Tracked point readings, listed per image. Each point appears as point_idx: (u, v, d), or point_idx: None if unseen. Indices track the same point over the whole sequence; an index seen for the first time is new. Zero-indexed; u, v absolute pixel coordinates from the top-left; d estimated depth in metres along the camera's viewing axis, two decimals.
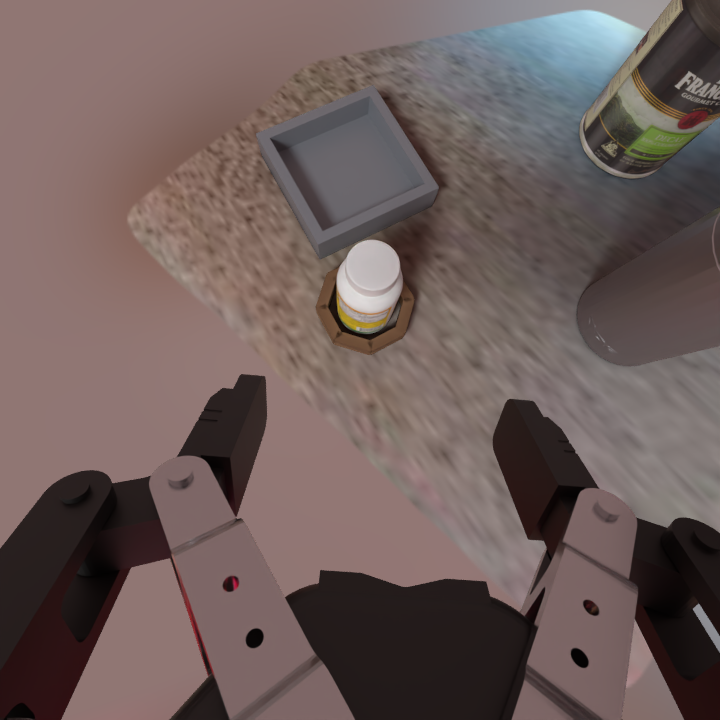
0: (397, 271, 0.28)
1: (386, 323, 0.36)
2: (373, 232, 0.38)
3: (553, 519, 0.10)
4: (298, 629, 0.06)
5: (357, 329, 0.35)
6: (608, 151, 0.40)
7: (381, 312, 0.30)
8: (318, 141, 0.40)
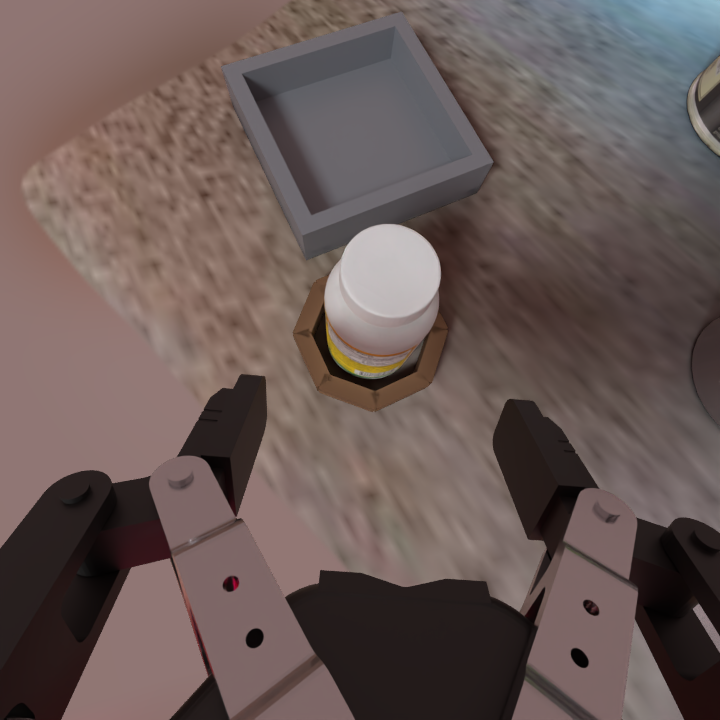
0: (435, 284, 0.15)
1: (402, 364, 0.23)
2: None
3: (553, 519, 0.10)
4: (298, 629, 0.06)
5: (356, 372, 0.22)
6: None
7: (398, 354, 0.18)
8: (315, 89, 0.27)
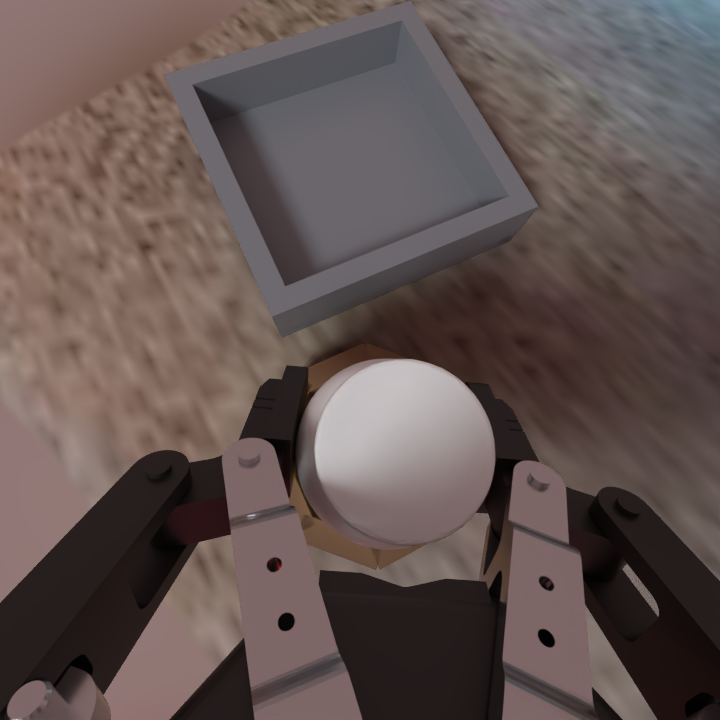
0: (487, 475, 0.08)
1: None
2: (394, 287, 0.19)
3: (495, 491, 0.10)
4: (327, 625, 0.06)
5: None
6: None
7: None
8: (296, 104, 0.21)
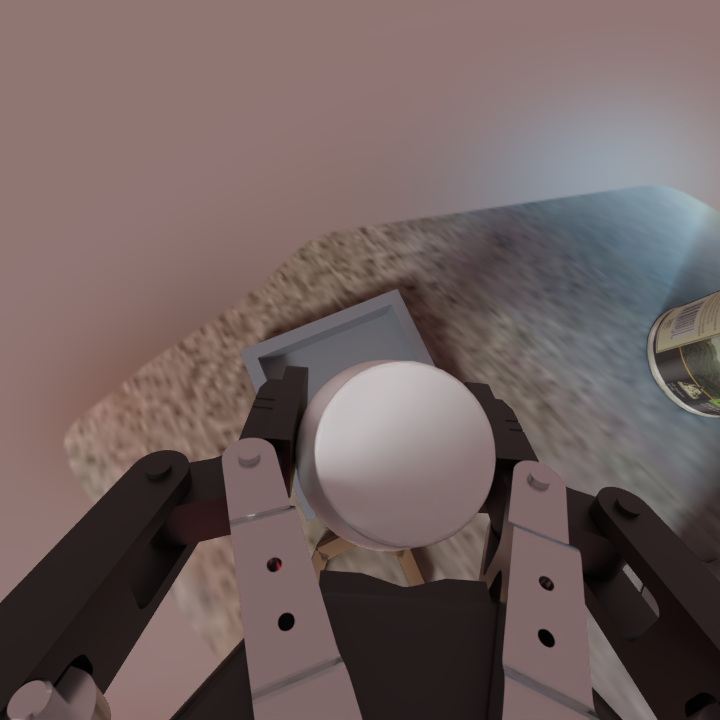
0: (487, 477, 0.08)
1: None
2: None
3: (495, 491, 0.10)
4: (327, 625, 0.06)
5: None
6: (686, 391, 0.31)
7: None
8: (321, 348, 0.31)
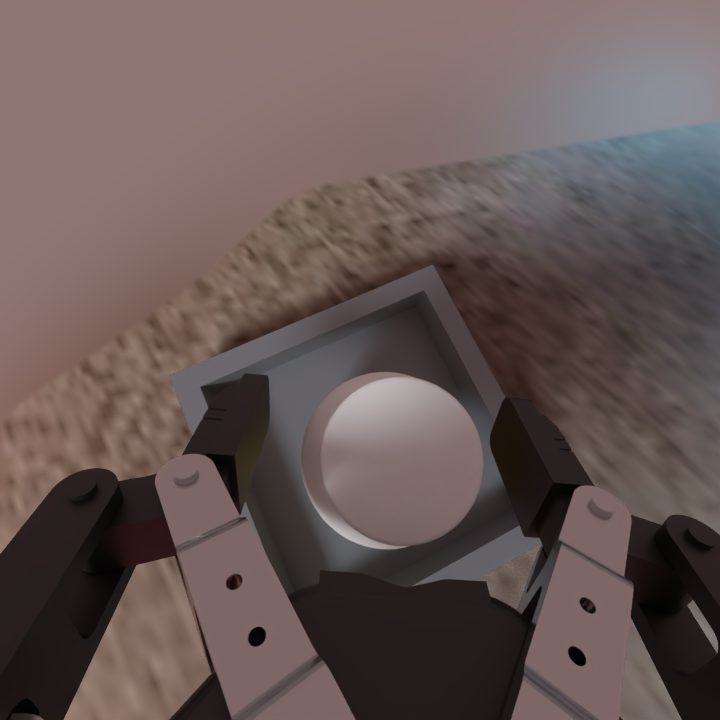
0: (475, 483, 0.09)
1: None
2: None
3: (548, 516, 0.10)
4: (300, 629, 0.06)
5: None
6: None
7: None
8: (310, 364, 0.19)
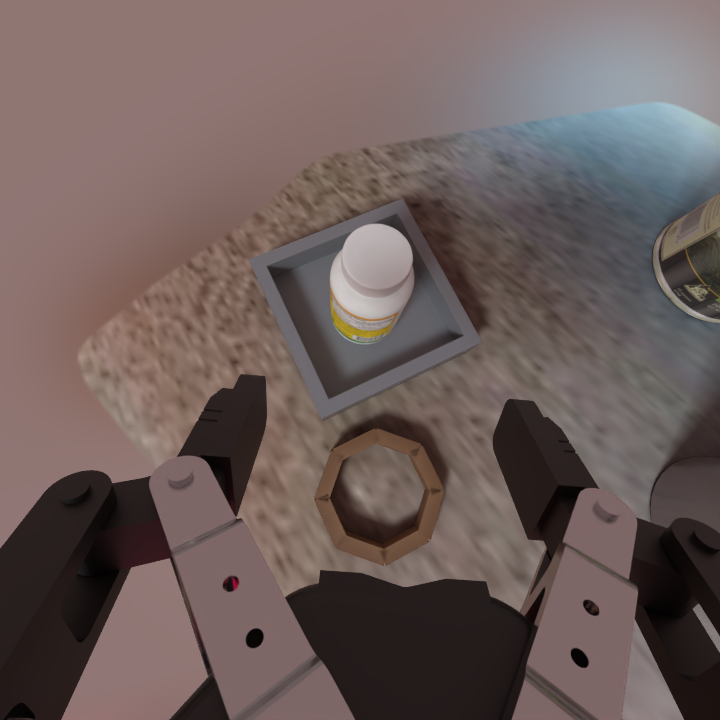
0: (409, 266, 0.21)
1: (389, 332, 0.29)
2: (393, 386, 0.30)
3: (553, 519, 0.10)
4: (298, 629, 0.06)
5: (354, 338, 0.28)
6: (693, 294, 0.32)
7: (384, 318, 0.24)
8: (328, 262, 0.31)
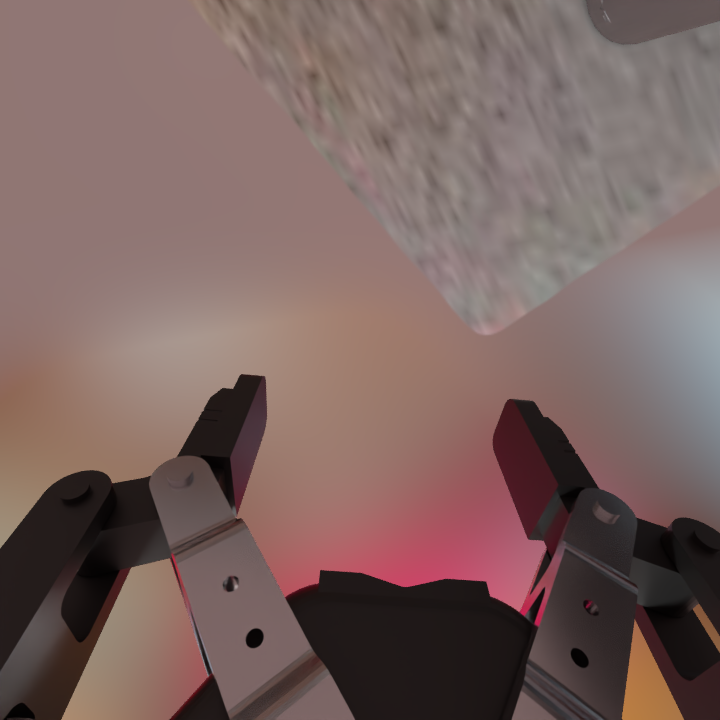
0: None
1: None
2: None
3: (553, 519, 0.10)
4: (298, 629, 0.06)
5: None
6: None
7: None
8: None
